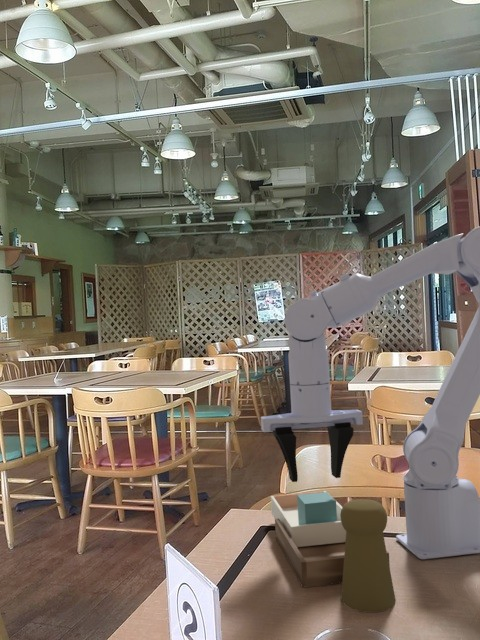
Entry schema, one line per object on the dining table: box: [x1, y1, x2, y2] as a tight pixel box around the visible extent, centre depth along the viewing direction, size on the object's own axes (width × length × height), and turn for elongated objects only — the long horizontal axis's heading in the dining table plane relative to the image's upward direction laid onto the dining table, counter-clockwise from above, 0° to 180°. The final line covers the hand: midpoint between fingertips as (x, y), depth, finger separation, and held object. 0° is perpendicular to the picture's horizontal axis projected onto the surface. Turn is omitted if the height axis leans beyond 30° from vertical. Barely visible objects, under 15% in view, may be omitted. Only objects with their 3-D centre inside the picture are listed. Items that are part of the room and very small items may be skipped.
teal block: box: [297, 491, 337, 525], centre depth 82 cm, size 4×4×4 cm
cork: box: [340, 498, 397, 613], centre depth 65 cm, size 6×6×11 cm
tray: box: [270, 490, 346, 547], centre depth 86 cm, size 9×15×3 cm, turn 8°
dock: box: [274, 518, 391, 588], centre depth 77 cm, size 11×16×3 cm
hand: (314, 478), depth 82 cm, fingers open, 6 cm apart
